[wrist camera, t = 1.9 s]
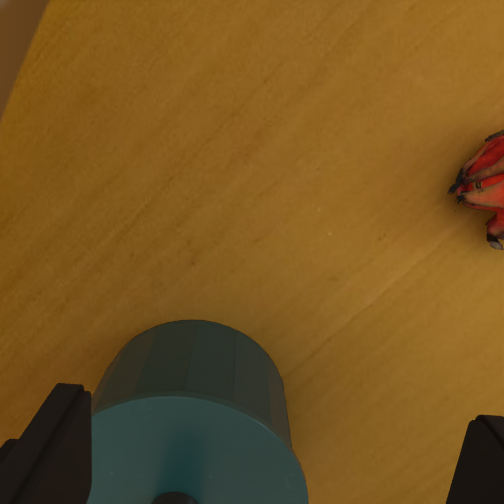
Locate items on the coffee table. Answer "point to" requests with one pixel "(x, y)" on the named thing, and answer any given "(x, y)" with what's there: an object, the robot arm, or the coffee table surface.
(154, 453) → the lid
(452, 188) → the dragon fruit
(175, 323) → the pot
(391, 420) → the coffee table surface
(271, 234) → the coffee table surface
